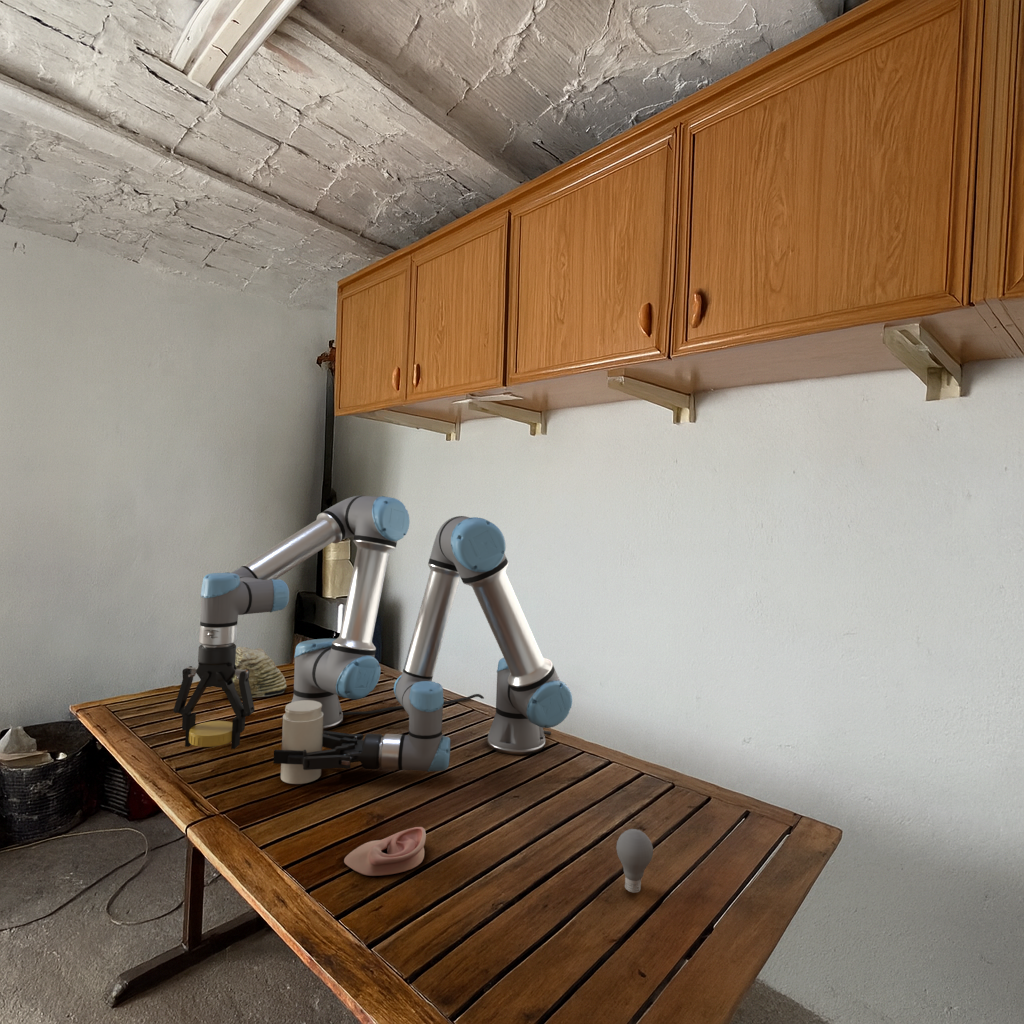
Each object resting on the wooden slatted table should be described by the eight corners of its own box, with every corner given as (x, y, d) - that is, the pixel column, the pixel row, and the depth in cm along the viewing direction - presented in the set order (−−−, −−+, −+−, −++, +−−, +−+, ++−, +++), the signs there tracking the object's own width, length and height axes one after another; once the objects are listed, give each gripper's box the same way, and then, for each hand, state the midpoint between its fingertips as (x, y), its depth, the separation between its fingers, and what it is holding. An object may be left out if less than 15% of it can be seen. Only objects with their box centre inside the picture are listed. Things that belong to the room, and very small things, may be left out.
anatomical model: (336, 847, 108) (365, 815, 119) (335, 870, 108) (364, 836, 119) (410, 859, 105) (432, 825, 116) (409, 883, 105) (431, 846, 116)
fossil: (218, 695, 195) (220, 647, 195) (278, 685, 208) (279, 640, 207) (228, 703, 189) (230, 653, 188) (289, 692, 201) (290, 645, 201)
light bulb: (610, 879, 108) (613, 822, 108) (644, 879, 109) (647, 822, 109) (619, 902, 102) (622, 840, 102) (655, 901, 103) (658, 840, 103)
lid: (232, 728, 146) (233, 718, 146) (239, 742, 138) (240, 731, 138) (186, 734, 141) (187, 724, 141) (191, 749, 133) (191, 738, 133)
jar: (290, 787, 137) (293, 714, 137) (273, 774, 144) (276, 704, 143) (328, 777, 143) (330, 706, 143) (310, 764, 150) (313, 697, 149)
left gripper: (158, 645, 135) (152, 749, 135) (261, 650, 136) (256, 754, 136) (176, 637, 143) (171, 737, 143) (274, 642, 143) (269, 741, 143)
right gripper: (371, 789, 133) (263, 786, 132) (389, 749, 154) (296, 745, 154) (372, 754, 133) (264, 750, 132) (390, 718, 154) (297, 715, 154)
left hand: (212, 745), depth 139 cm, fingers closed on lid, 9 cm apart
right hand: (281, 748), depth 143 cm, fingers closed on jar, 9 cm apart
